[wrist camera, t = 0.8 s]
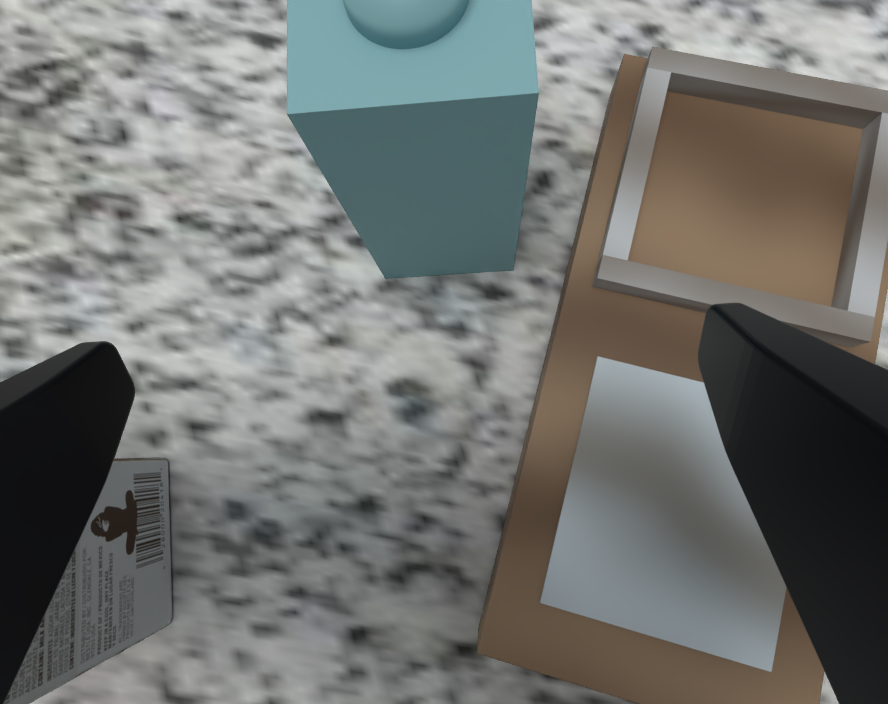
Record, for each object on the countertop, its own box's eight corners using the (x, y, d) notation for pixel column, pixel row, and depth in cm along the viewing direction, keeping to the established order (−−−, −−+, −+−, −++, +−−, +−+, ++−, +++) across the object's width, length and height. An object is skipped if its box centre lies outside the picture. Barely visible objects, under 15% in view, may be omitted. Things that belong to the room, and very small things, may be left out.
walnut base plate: (769, 718, 20) (829, 776, 16) (478, 628, 21) (476, 664, 17) (869, 146, 22) (939, 91, 19) (610, 95, 24) (630, 34, 20)
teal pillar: (513, 270, 23) (541, 69, 11) (385, 278, 23) (274, 93, 11) (505, 150, 24) (523, -160, 12) (382, 160, 24) (275, -132, 12)
